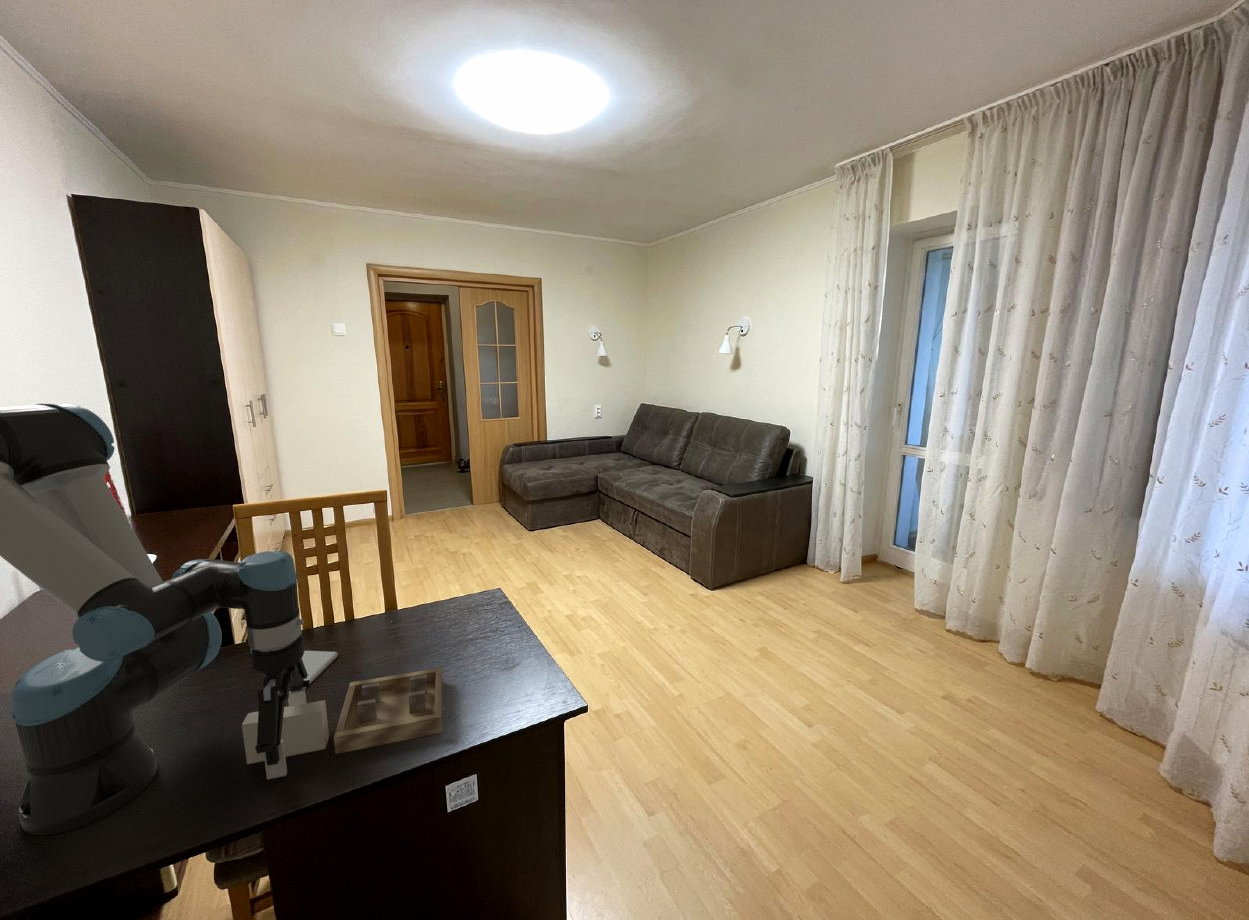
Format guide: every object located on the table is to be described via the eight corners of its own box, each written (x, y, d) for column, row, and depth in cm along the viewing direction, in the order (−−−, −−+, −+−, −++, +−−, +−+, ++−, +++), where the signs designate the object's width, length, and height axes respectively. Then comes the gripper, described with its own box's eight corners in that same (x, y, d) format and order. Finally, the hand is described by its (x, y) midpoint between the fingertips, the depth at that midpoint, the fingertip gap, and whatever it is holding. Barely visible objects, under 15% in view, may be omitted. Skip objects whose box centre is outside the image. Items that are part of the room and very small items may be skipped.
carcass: (335, 754, 90) (333, 730, 89) (351, 697, 104) (349, 676, 103) (441, 732, 95) (440, 709, 94) (442, 681, 110) (441, 661, 109)
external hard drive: (338, 657, 118) (304, 691, 106) (304, 656, 119) (266, 690, 106) (337, 651, 118) (303, 685, 106) (303, 650, 118) (265, 683, 106)
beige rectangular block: (247, 764, 87) (241, 724, 85) (253, 751, 90) (248, 713, 88) (325, 749, 91) (321, 710, 89) (329, 737, 94) (325, 700, 92)
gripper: (279, 680, 75) (293, 797, 80) (318, 603, 98) (328, 698, 103) (219, 689, 73) (237, 810, 77) (274, 608, 96) (285, 705, 100)
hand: (289, 746), depth 90 cm, fingers open, 13 cm apart
